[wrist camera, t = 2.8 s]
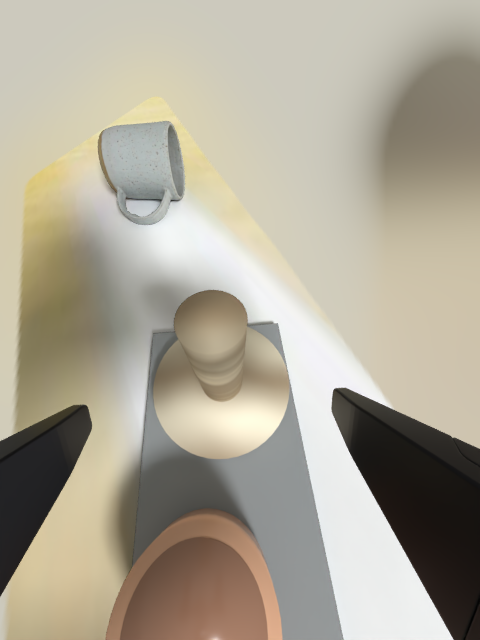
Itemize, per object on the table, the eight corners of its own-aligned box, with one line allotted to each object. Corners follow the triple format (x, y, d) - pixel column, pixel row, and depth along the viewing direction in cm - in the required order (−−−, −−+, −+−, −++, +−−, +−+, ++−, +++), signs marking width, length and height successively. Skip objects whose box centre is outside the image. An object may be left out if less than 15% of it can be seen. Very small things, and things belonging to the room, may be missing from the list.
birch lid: (300, 448, 16) (377, 439, 7) (152, 469, 15) (46, 485, 7) (273, 322, 21) (299, 230, 12) (160, 333, 20) (105, 243, 12)
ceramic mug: (129, 177, 33) (102, 108, 26) (187, 177, 33) (175, 109, 27) (111, 228, 28) (72, 159, 21) (179, 228, 28) (162, 160, 22)
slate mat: (347, 676, 12) (353, 686, 11) (122, 719, 11) (116, 731, 10) (276, 326, 22) (277, 323, 21) (155, 336, 21) (153, 333, 20)
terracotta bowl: (282, 686, 11) (301, 778, 8) (127, 714, 11) (81, 827, 7) (260, 498, 15) (267, 511, 12) (143, 514, 14) (117, 531, 11)
